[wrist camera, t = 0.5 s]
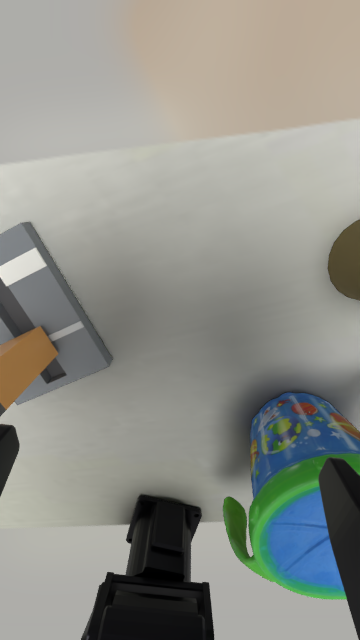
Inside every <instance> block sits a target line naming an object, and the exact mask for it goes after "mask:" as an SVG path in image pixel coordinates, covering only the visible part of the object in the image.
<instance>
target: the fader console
mask: <svg viewBox="0 0 360 640" xmlns="http://www.w3.org/2000/svg"><path fill="white" fill-rule="evenodd" d="M39 326H41V328H42V329H43V331H44V332H45V334H46V335H47V337H48V338H49V340H50V341H51V343H52V344H53V346H54V347H55V349H56V351H57V352H58V355H57V356H56V357H55V358H54V359H53V360H52V361H51V362H50V363H49V365H48V366H47V367H46V368H45V369H44V370H43V371H42V372H41V373H40V374H39V375H38V376H37V377H36V378H35V380H34V381H33V382H32V383H31V384H30V385H29V386H28V387H27V388H26V389H25V390H24V391H23V392H22V394H21V395H20V396H19V397H18V398H17V399H16V400H15V401H14V402H15V403H16V404H17V405H19V404H21V403H24V402H26V401H29V400H31V399H33V398H36V397H38V396H40V395H43V394H45V393H48V392H50V391H52V390H55V389H57V388H59V387H62V386H64V385H67V384H69V383H71V382H74V381H76V380H78V379H81V378H83V377H86V376H88V375H90V374H93V373H95V372H97V371H100V370H102V369H105V368H107V367H109V366H110V364H111V362H112V360H113V359H112V358H111V356H110V354H109V353H108V351H107V349H106V348H105V346H104V344H103V343H102V341H101V339H100V338H99V336H98V334H97V333H96V331H95V329H94V328H93V326H92V324H91V323H90V321H89V319H88V318H87V316H86V314H85V313H84V311H83V309H82V308H81V306H80V304H79V303H78V301H77V299H76V298H75V296H74V294H73V293H72V291H71V289H70V288H69V286H68V284H67V283H66V281H65V279H64V278H63V276H62V274H61V273H60V271H59V269H58V268H57V266H56V264H55V263H54V261H53V259H52V258H51V256H50V255H49V253H48V251H47V250H46V248H45V246H44V245H43V243H42V241H41V240H40V238H39V236H38V235H37V233H36V231H35V230H34V228H33V226H32V225H31V223H30V222H25V223H20V224H18V225H16V226H14V227H13V228H11V229H9V230H7V231H5V232H4V233H2V234H0V345H1V344H3V343H5V342H7V341H9V340H11V339H14V338H16V337H18V336H20V335H22V334H24V333H26V332H28V331H31V330H33V329H35V328H37V327H39Z"/></svg>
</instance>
